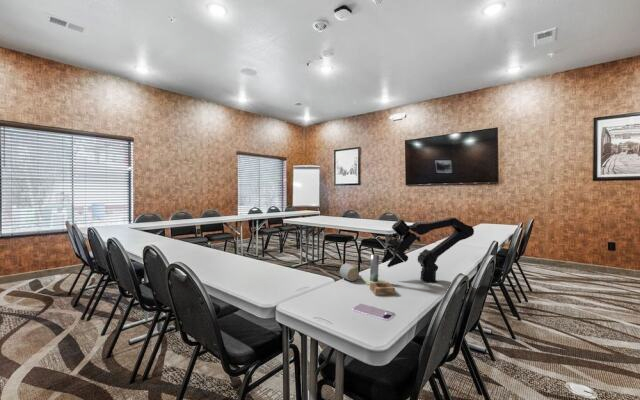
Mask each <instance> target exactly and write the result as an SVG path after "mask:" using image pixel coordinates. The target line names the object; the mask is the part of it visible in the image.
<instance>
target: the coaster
mask: <svg viewBox="0 0 640 400" xmlns="http://www.w3.org/2000/svg"><path fill="white" fill-rule="evenodd" d="M361 280H362V281H363V283H364V284H366V285H367V286H368V285H369V286H370V282H373V281H370V277H361ZM377 282H385V280H383V279H382V278H381V277H380V276H378V281H377Z"/></svg>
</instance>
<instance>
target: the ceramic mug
mask: <svg viewBox="0 0 640 400" xmlns="http://www.w3.org/2000/svg"><path fill="white" fill-rule="evenodd" d="M339 275H340V276H341V278H343V279H345V280H348V281H349V282H355V281H356V280H358V279H359V280H360V279H361V280H362V278H363V277H362V275H361V274H360V271H359V270H358V268H357V267H355V266H353V265H352V264H350V263H348V262H346V263H344V264H342V265H341V266H340V268H339Z"/></svg>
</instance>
